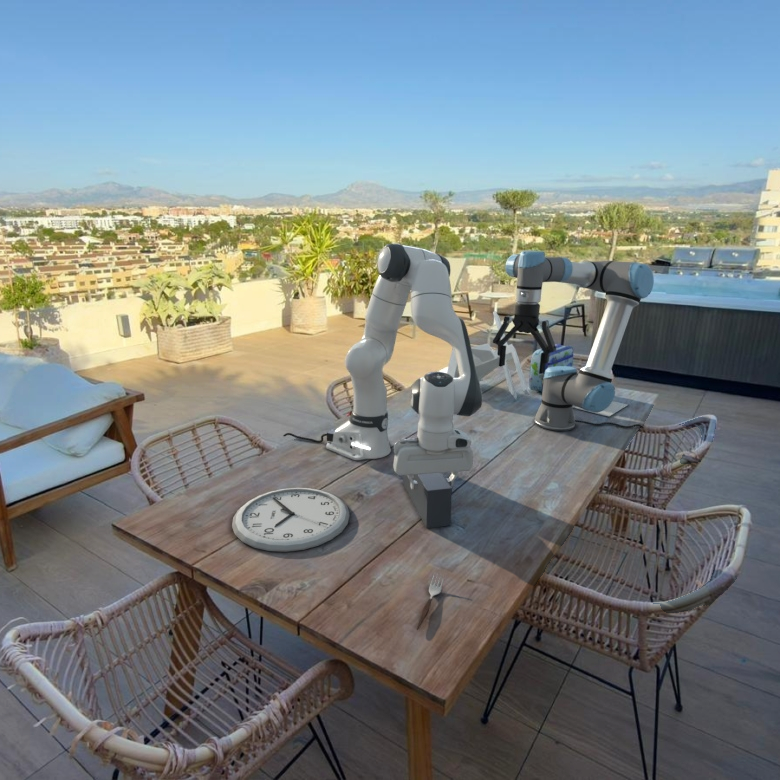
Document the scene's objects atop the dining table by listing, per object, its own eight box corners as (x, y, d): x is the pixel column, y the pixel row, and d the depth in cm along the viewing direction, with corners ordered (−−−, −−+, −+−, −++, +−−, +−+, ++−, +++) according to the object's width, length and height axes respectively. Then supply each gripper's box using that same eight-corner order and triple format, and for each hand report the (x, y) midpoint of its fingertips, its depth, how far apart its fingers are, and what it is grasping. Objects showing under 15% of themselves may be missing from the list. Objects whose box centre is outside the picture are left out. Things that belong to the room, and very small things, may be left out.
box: (402, 483, 156) (403, 450, 153) (423, 481, 157) (424, 448, 154) (426, 528, 133) (427, 490, 129) (450, 525, 134) (452, 488, 131)
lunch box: (545, 397, 238) (550, 352, 231) (524, 391, 245) (529, 348, 239) (572, 386, 255) (578, 344, 249) (552, 381, 262) (557, 340, 256)
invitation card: (608, 416, 214) (573, 407, 224) (608, 416, 214) (573, 408, 224) (628, 404, 229) (594, 396, 238) (628, 405, 229) (594, 397, 238)
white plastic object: (461, 429, 252) (437, 405, 227) (444, 352, 274) (420, 323, 250) (535, 404, 240) (518, 377, 215) (510, 326, 262) (492, 293, 237)
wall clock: (350, 543, 123) (219, 547, 120) (350, 549, 123) (220, 553, 121) (349, 483, 151) (243, 486, 149) (349, 488, 152) (243, 491, 149)
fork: (410, 630, 99) (410, 621, 98) (433, 579, 113) (433, 571, 113) (423, 633, 98) (424, 625, 97) (444, 582, 112) (445, 574, 112)
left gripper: (396, 444, 125) (394, 496, 129) (477, 440, 129) (472, 490, 134) (391, 434, 131) (389, 483, 135) (468, 430, 135) (464, 478, 139)
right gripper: (485, 300, 165) (480, 365, 171) (563, 308, 151) (555, 378, 157) (495, 297, 171) (491, 360, 177) (572, 305, 157) (563, 373, 163)
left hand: (431, 487), depth 134 cm, fingers open, 8 cm apart
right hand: (521, 369), depth 167 cm, fingers open, 13 cm apart
